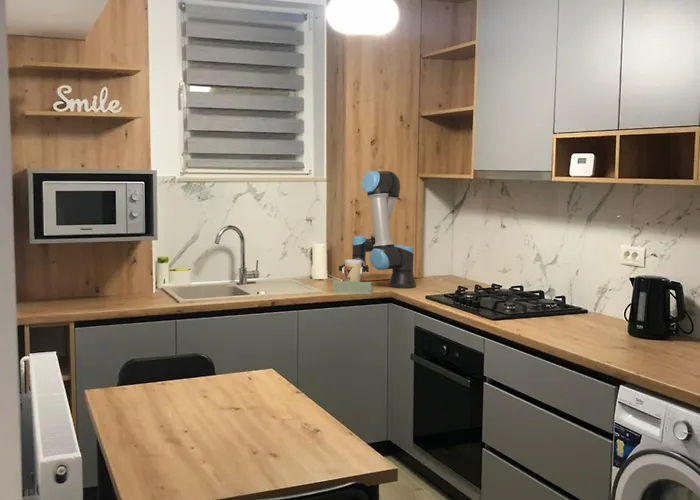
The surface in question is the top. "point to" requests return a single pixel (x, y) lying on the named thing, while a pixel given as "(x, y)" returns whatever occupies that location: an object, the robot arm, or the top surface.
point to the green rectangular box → (352, 287)
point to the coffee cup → (353, 270)
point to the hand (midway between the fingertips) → (352, 270)
